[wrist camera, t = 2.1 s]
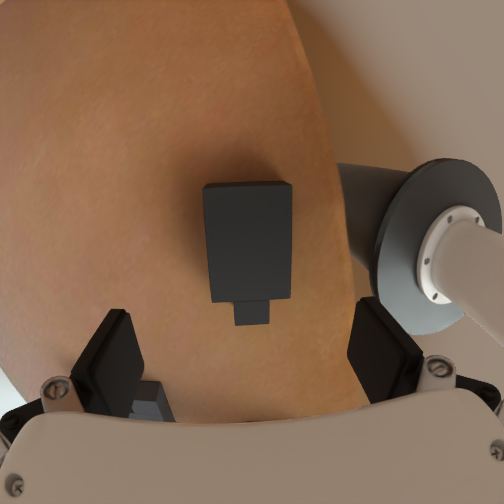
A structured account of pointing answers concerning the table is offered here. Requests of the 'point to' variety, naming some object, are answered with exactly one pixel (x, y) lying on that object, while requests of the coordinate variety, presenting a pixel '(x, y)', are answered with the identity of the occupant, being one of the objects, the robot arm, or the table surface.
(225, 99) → the table surface
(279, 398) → the table surface
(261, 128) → the table surface
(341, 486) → the robot arm
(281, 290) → the black block
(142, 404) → the charcoal block
